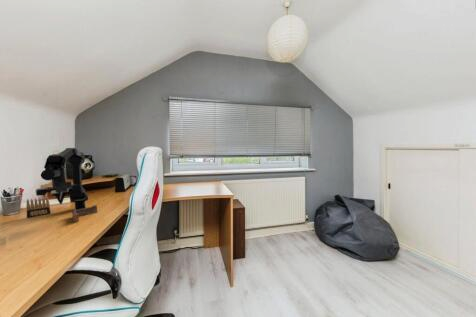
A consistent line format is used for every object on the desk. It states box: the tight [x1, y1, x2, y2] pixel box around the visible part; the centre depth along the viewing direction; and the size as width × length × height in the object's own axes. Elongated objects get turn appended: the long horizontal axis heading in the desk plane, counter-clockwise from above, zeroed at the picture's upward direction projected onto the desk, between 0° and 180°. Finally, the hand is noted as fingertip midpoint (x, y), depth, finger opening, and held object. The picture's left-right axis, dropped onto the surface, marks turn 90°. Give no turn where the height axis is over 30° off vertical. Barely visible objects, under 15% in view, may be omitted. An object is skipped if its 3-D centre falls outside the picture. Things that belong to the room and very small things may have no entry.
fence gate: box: [72, 211, 80, 224], centre depth 116 cm, size 2×10×4 cm, turn 44°
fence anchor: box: [71, 204, 98, 217], centre depth 125 cm, size 2×12×5 cm, turn 139°
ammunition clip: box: [25, 196, 52, 219], centre depth 124 cm, size 11×2×12 cm, turn 127°
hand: (60, 203), depth 112 cm, fingers closed
